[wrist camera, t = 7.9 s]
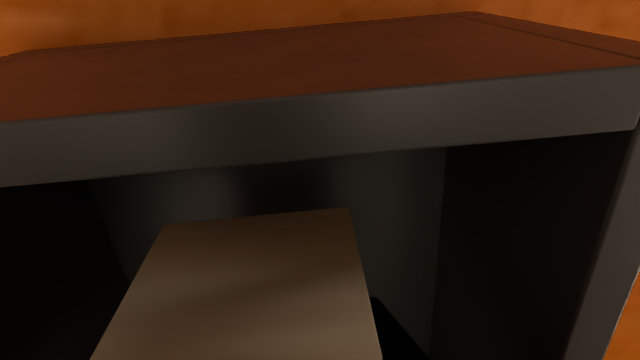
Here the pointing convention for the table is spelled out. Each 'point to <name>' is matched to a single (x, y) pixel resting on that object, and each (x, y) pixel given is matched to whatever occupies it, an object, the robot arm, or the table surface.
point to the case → (335, 172)
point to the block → (248, 293)
